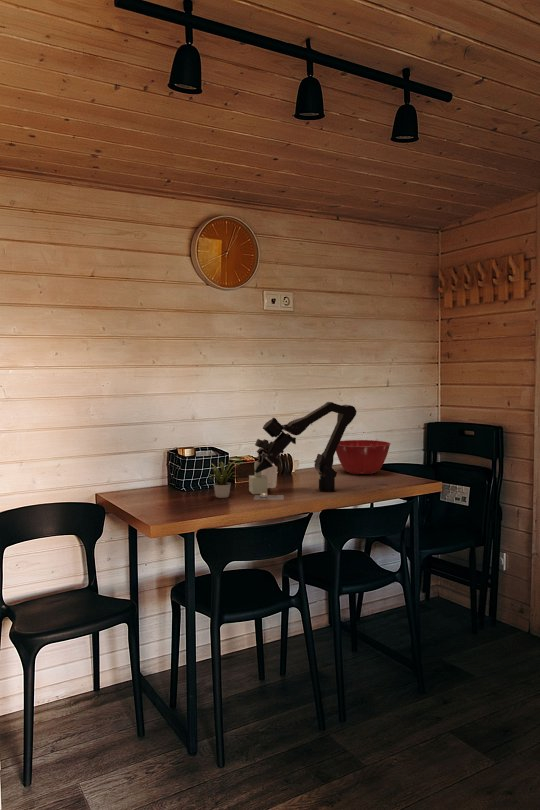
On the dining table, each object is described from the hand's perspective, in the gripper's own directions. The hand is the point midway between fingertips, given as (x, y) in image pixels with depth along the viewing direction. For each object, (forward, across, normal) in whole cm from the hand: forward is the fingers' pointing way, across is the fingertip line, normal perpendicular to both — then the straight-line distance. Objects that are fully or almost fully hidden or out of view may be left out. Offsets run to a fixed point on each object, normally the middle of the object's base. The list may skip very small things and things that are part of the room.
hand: (254, 471), depth 269 cm
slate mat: (+5, +12, +9) cm, 15 cm away
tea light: (+6, +11, +7) cm, 14 cm away
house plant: (+16, +4, -3) cm, 17 cm away
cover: (+6, 0, +7) cm, 9 cm away
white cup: (0, -14, +14) cm, 20 cm away
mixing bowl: (-38, -36, +53) cm, 75 cm away
